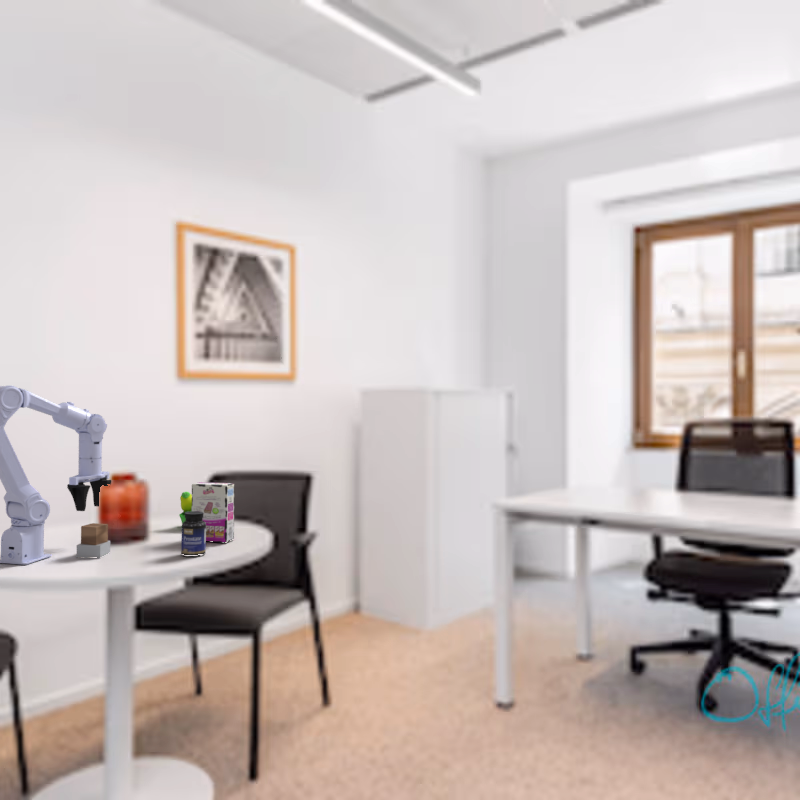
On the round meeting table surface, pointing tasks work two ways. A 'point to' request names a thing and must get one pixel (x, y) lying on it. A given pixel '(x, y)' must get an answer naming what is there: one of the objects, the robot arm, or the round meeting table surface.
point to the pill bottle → (193, 534)
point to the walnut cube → (94, 534)
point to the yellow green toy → (185, 504)
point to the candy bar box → (215, 509)
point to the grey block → (93, 550)
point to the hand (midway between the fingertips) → (89, 508)
